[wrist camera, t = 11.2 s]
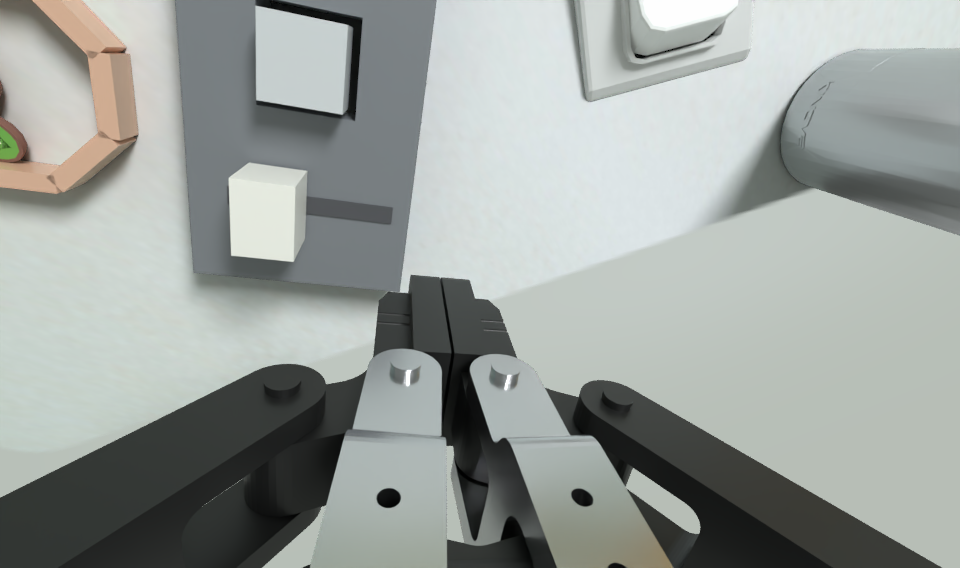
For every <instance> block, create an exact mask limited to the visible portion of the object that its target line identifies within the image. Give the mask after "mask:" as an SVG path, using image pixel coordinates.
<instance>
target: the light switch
mask: <svg viewBox="0 0 960 568" xmlns="http://www.w3.org/2000/svg"><path fill="white" fill-rule="evenodd" d="M574 5H575V14H576V22H577V31H578V39H579V47H580V56H581V64H582V72H583V81H584V89H585V97H586V99H587V101H590V102H591V101H595V100H598V99H602V98H606V97H610V96H613V95H617V94H621V93H624V92H628V91H632V90H635V89H639V88H643V87H647V86H650V85H654V84H658V83H661V82H665V81H669V80H672V79H676V78H680V77H684V76H687V75H691V74H695V73H698V72H702V71H706V70H709V69H713V68H717V67H721V66H724V65H728V64H732V63H735V62H739V61H743V60H745V59H746V58H747V56H748V54H749V52H750V49H751V43H752V28H753V13H754V0H574ZM714 31H715V33H714V35H712V36H711V37H710V38H708V39H707V40H706V41H704V42H701V43H697V44H693V43H696V42H700V41H703V40H704V39H705V38H706V37H708V36H709V35H710V34H711V33H713V32H714ZM689 44H693V45H690V46H686V47H682V48H679V49H675V50H671V51H667V50H670V49H674V48H678V47H681V46H685V45H689ZM663 51H667V52H664V53H660V54H656V55H652V54H655V53H659V52H663ZM634 53H636V54H641V55H646V56H648V55H652V56H649V57H645V58H641V59H640V58H636V57H635V55H634Z"/></svg>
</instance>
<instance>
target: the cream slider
mask: <svg viewBox="0 0 960 568" xmlns="http://www.w3.org/2000/svg"><path fill="white" fill-rule="evenodd" d="M306 197H307V171H305V170H298V169H291V168H284V167H277V166H270V165H263V164H256V163H248V164H246V165H245V166H244V167H242V168H241V169H240V170H238V171H237V172H236V173H234V174H233V175H232V176H230V177H229V205H230V236H231V256H240V257H250V258H260V259H270V260H279V261H289V262H294V260H295V258H296V256H297V254H298V252H299V250H300V248H301V246H302V244H303V242H304V240H305V226H306Z"/></svg>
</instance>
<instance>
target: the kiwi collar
mask: <svg viewBox="0 0 960 568" xmlns="http://www.w3.org/2000/svg"><path fill="white" fill-rule="evenodd" d="M32 1H33V2H34V3H35V4H36V5H37V6H38V7H39V8H40V9H41V10H42V11H43V12H44V13H45V14H46V15H47V16H48V17H49V18H50V19H51V20H52V21H53V22H54V23H55V24H56V25H57V26H58V27H59V28H60V29H61V30H62V31H63V32H64V33H65V34H66V35H67V36H68V37H69V38H70V39H71V40H72V41H73V42H74V43H76V44H77V45H78V46H79V47H80V48H81V49H82V50H83V51H84V52H85V53H86V54H87V56H88V63H89V70H90V78H91V85H92V92H93V99H94V106H95V114H96V121H97V128H98V134H96V135H95V136H94V137H93V138H92V139H91V140H89V141H88V142H87V143H86V144H85V145H84V146H82V147H81V148H80V149H79V150H78V151H77V152H75V153H74V154H73V155H72V156H71V157H70V158H68V159H67V160H66V161H65V162H64V163H63V164H61V165H52V164H44V163H37V162H29V161H21V160H19V161H15V162H3V161H0V187H4V188H13V189H21V190H29V191H38V192H46V193H54V194H58V193H61V192H66V191H68V190H71V189H73V188H75V187H78V186H80V185H82V184H85V183H86V182H87V181H88V180H90V179H91V178H92V177H93V176H94V175H95V174H97V173H98V172H99V171H100V170H101V169H103V168H104V167H105V166H106V165H107V164H109V163H110V162H111V161H112V160H113V159H114V158H116V157H117V156H118V155H119V154H120V153H122V152H123V151H124V150H125V149H126V148H128V147H129V146H130V145H131V144H132V143H134V142H135V141H136V139H135V138H134V137H133V136H136V135H138V126H137V117H136V107H135V98H134V88H133V79H132V69H131V60H130V54H126V53H121V52H122V51H123V50H124V49H125V48H127V47H126V46H125V45H124V44H123V43H122V42H121V41H120V40H119V39H118V38H117V37H116V36H115V35H114V34H113V33H112V32H111V31H110V30H109V28H108V27H107V26H106V25H105V24H104V23H103V22H102V21H101V20H100V19H99V18H98V17H97V16H96V15H95V14H94V13H93V12H92V11H91V10H90V9H89V8H88V7H87V6H86V5H85V3H84V2H83V1H82V0H32Z"/></svg>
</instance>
